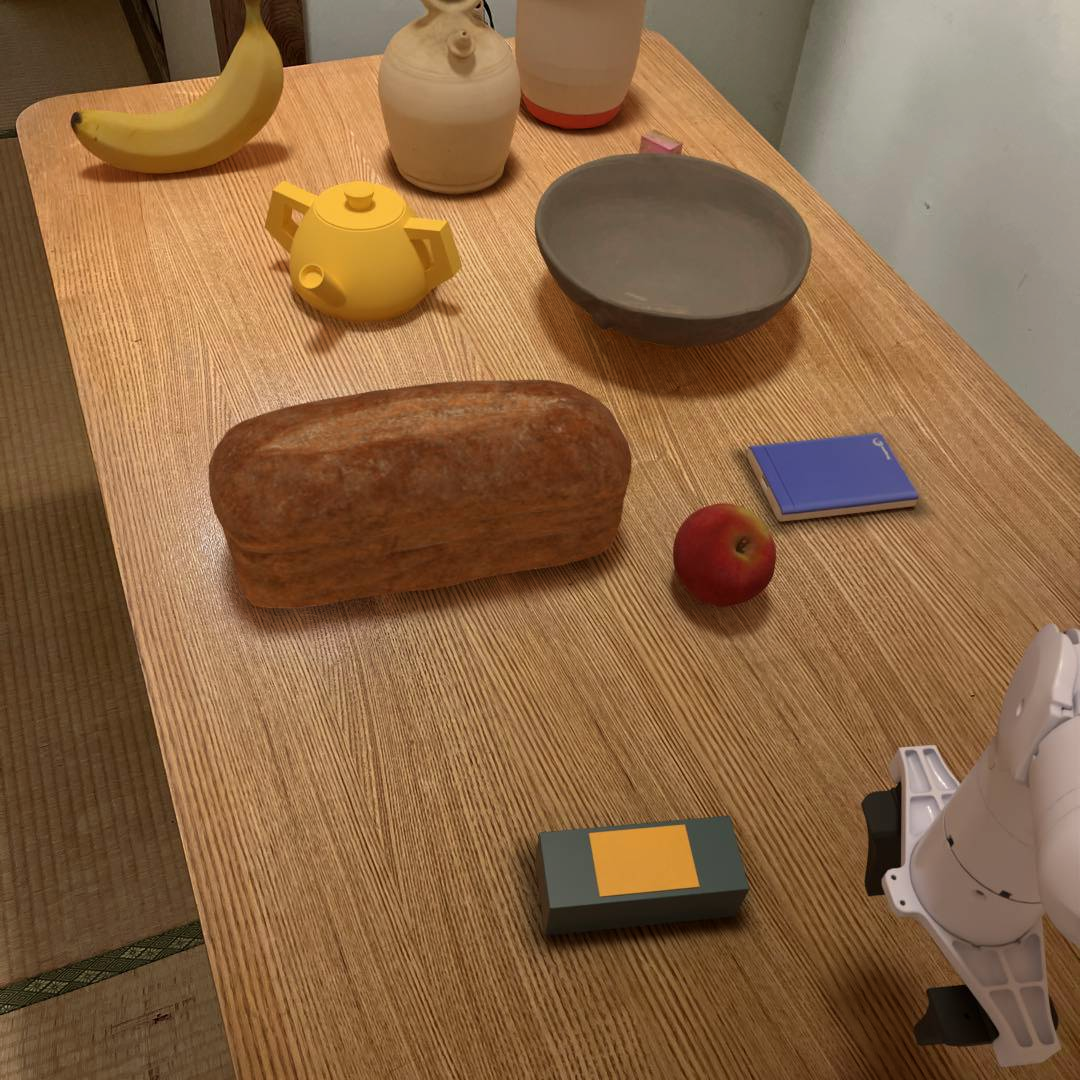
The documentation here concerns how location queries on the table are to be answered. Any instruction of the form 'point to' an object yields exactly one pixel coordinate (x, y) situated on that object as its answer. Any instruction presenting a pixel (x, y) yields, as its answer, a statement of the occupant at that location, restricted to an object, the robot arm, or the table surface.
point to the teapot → (360, 250)
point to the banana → (195, 114)
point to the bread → (417, 489)
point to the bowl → (672, 247)
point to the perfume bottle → (659, 143)
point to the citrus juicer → (577, 58)
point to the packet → (639, 874)
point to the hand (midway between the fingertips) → (907, 959)
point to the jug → (449, 99)
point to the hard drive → (831, 477)
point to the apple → (724, 555)
